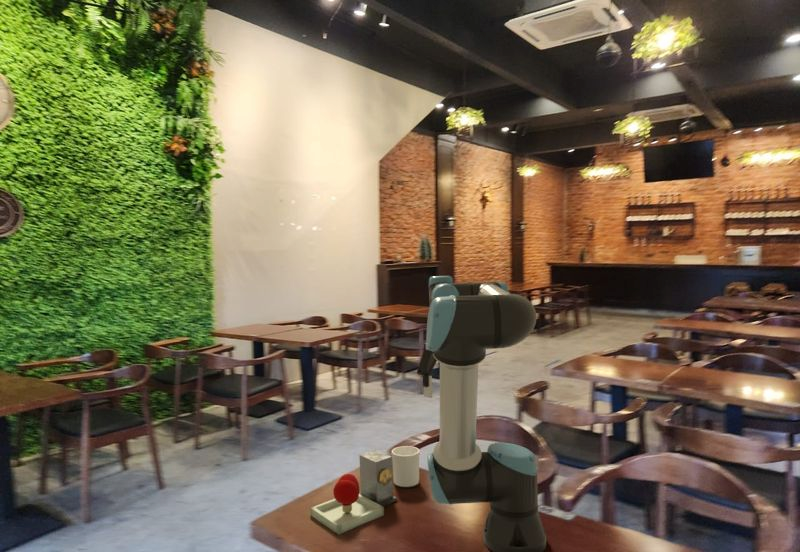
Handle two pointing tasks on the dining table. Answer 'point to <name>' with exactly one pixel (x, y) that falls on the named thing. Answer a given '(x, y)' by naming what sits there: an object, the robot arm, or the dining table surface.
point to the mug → (406, 466)
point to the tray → (343, 522)
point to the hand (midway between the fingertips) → (444, 393)
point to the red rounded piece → (346, 491)
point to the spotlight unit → (377, 477)
